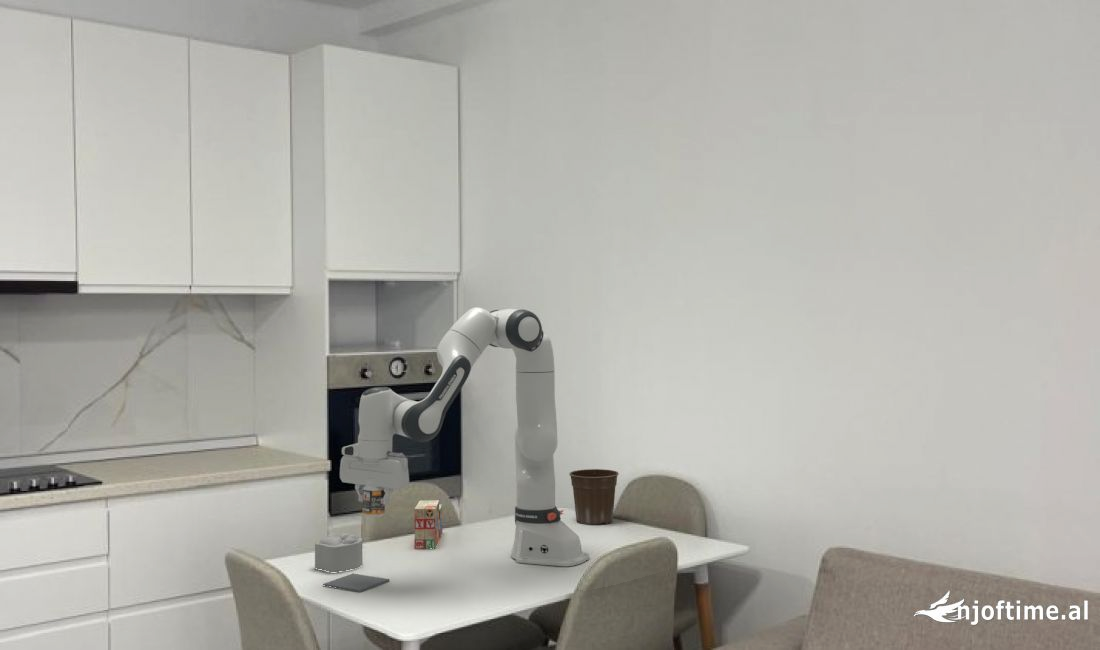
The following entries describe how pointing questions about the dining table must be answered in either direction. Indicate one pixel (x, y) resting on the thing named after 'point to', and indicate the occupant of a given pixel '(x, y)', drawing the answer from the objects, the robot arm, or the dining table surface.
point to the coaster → (356, 582)
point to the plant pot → (594, 495)
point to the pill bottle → (372, 499)
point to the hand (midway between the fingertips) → (373, 503)
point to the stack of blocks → (427, 524)
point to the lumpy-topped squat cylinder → (338, 552)
